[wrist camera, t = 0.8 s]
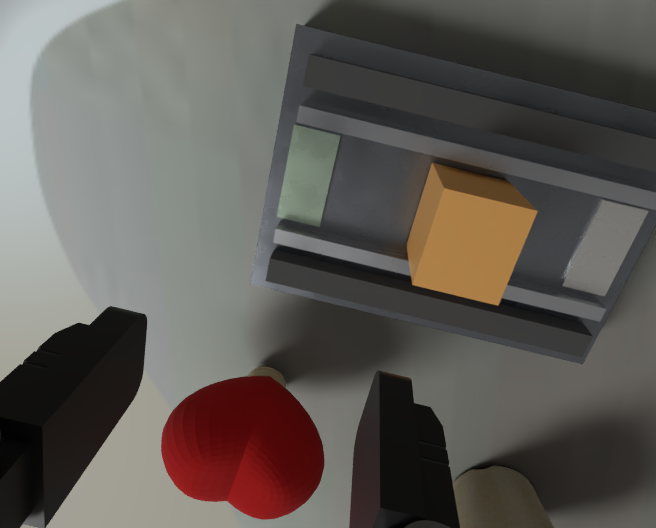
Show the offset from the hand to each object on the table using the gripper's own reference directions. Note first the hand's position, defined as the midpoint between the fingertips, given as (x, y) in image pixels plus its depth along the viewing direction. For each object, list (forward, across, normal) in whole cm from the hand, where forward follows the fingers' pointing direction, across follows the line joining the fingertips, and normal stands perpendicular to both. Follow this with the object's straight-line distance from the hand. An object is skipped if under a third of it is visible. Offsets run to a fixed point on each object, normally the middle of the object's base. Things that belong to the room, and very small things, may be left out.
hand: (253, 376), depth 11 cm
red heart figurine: (+20, +1, +15) cm, 25 cm away
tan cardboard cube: (+17, -7, 0) cm, 18 cm away
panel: (+19, -7, 0) cm, 21 cm away
